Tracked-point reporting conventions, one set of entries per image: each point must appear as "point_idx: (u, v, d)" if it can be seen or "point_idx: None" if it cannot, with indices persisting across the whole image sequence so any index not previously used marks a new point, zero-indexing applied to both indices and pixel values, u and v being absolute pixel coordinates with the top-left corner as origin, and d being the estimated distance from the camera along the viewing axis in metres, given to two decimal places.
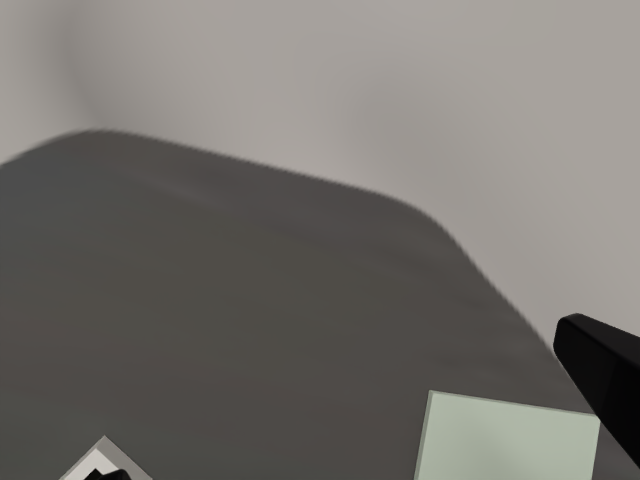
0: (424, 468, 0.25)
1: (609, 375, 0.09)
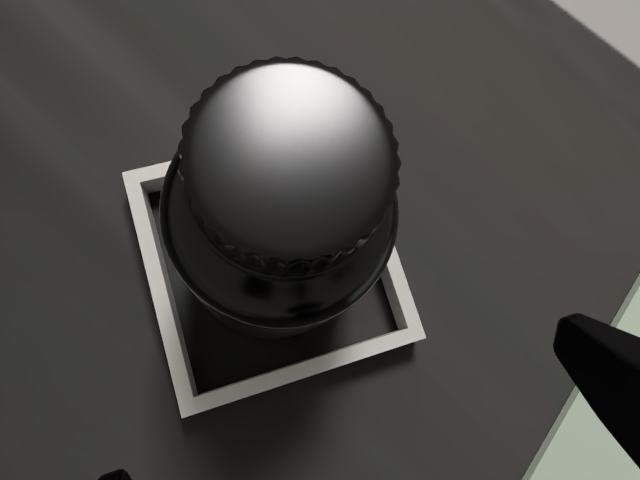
0: None
1: (609, 375, 0.09)
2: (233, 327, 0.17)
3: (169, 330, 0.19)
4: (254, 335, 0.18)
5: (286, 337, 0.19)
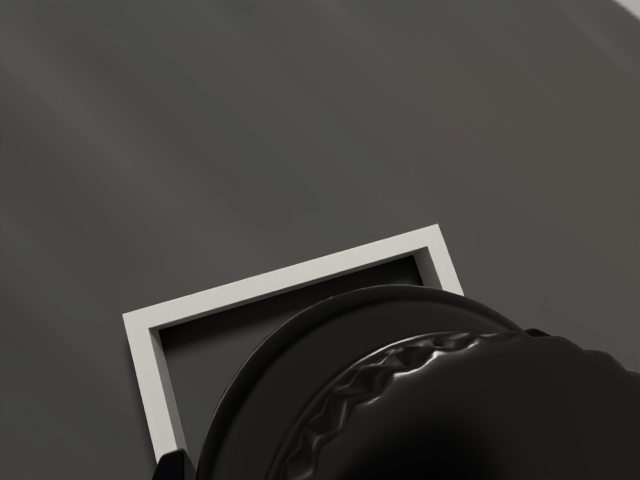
0: None
1: None
2: None
3: None
4: None
5: None
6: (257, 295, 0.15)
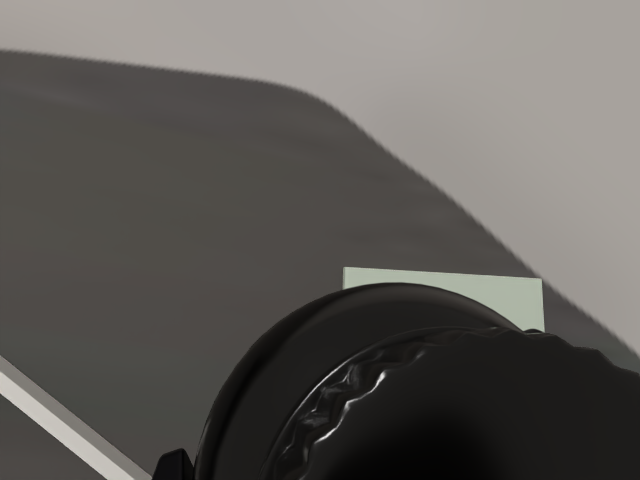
0: None
1: None
2: None
3: None
4: None
5: None
6: None
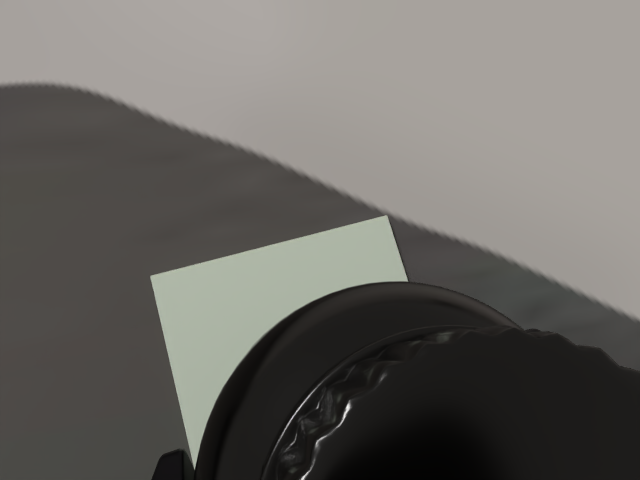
0: (179, 371, 0.18)
1: None
2: None
3: None
4: None
5: None
6: None
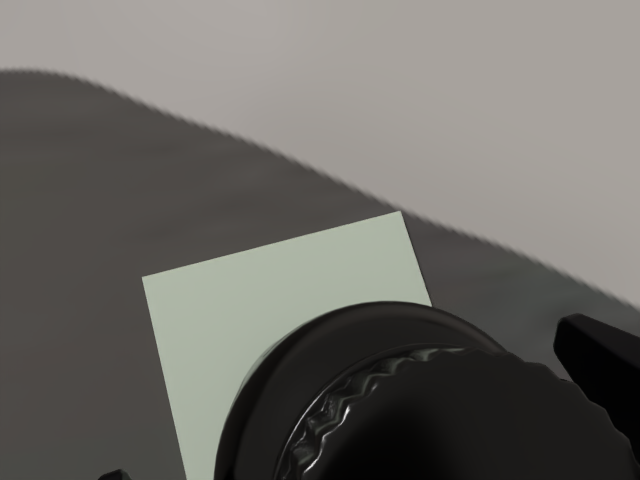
0: (173, 382, 0.17)
1: (609, 375, 0.09)
2: None
3: None
4: None
5: None
6: None
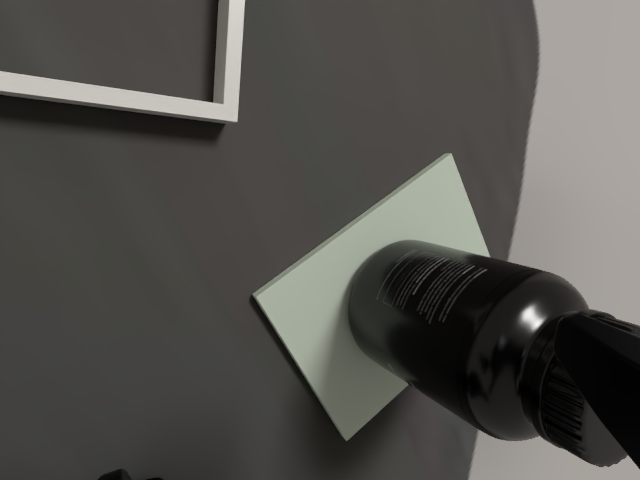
0: (401, 195, 0.25)
1: (609, 375, 0.09)
2: (389, 318, 0.21)
3: None
4: (379, 331, 0.22)
5: (371, 347, 0.23)
6: None
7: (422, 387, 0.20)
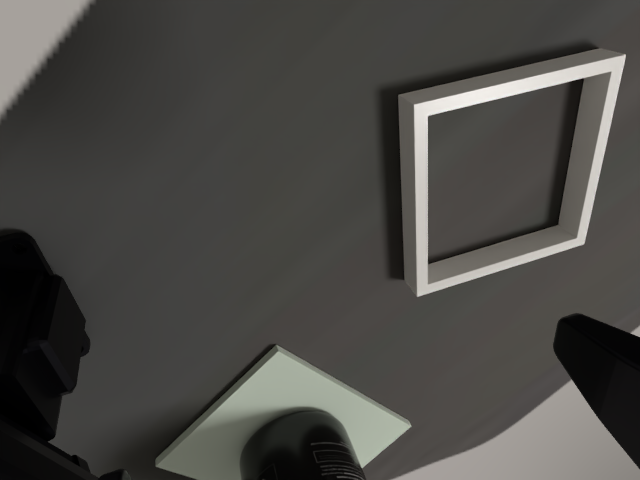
0: (375, 410, 0.31)
1: (609, 375, 0.09)
2: (308, 466, 0.25)
3: (487, 95, 0.20)
4: (290, 461, 0.25)
5: (266, 456, 0.26)
6: (596, 140, 0.23)
7: None
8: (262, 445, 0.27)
